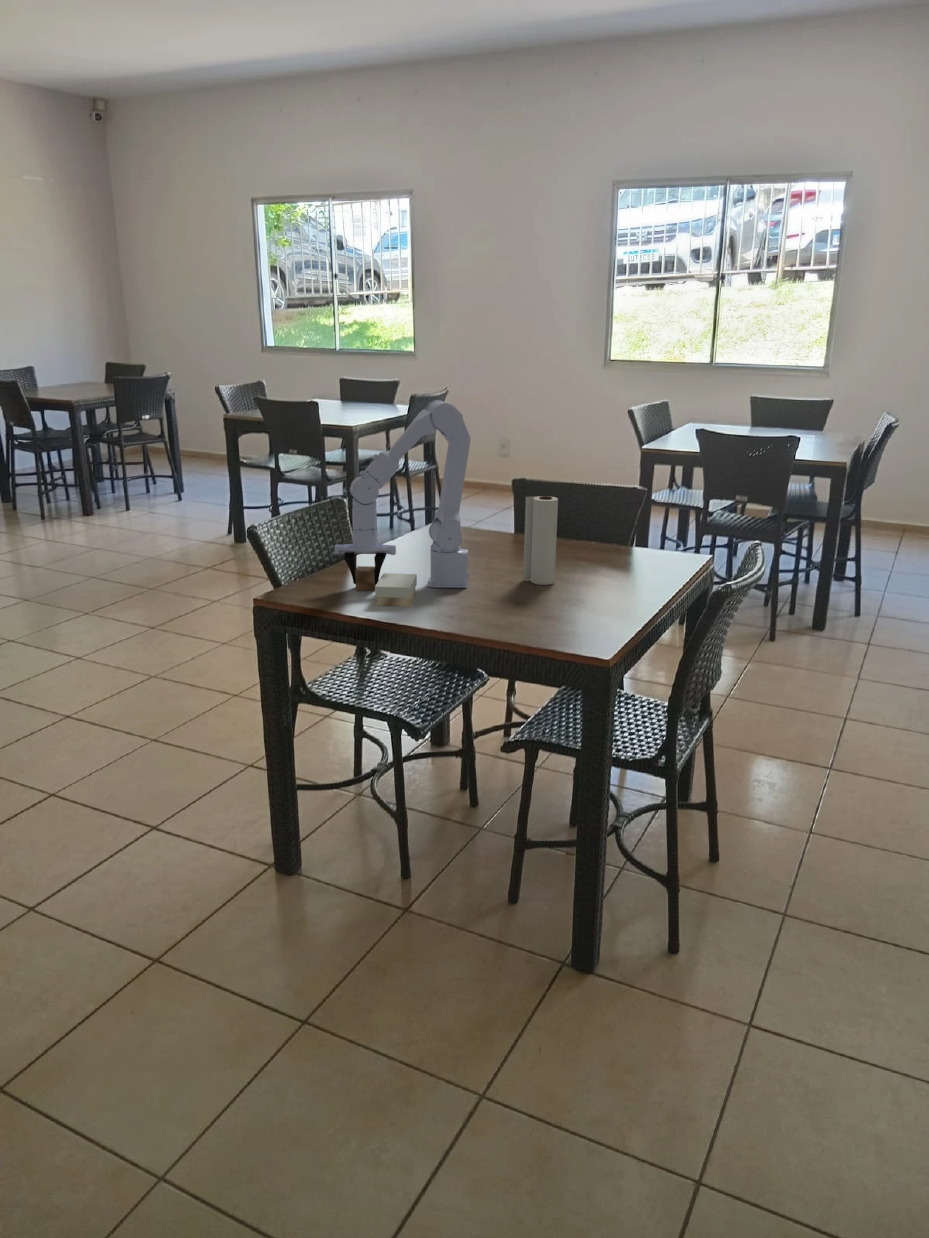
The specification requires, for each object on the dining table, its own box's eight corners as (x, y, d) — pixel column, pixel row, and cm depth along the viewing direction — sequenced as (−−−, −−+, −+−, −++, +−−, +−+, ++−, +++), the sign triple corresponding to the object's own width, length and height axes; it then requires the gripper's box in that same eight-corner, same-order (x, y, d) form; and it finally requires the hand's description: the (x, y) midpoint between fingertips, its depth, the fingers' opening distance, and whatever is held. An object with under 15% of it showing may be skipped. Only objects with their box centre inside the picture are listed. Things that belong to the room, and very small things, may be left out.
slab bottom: (415, 594, 222) (415, 584, 221) (412, 608, 210) (412, 598, 209) (382, 593, 222) (382, 583, 221) (377, 608, 210) (376, 597, 209)
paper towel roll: (559, 583, 229) (563, 498, 223) (539, 586, 226) (542, 500, 220) (542, 576, 235) (545, 493, 229) (523, 580, 232) (525, 495, 226)
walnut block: (376, 586, 226) (376, 566, 224) (374, 591, 221) (374, 571, 220) (358, 586, 226) (357, 566, 224) (355, 591, 221) (355, 571, 220)
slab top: (416, 584, 221) (416, 574, 220) (410, 598, 209) (410, 587, 208) (383, 583, 221) (383, 573, 220) (375, 597, 210) (375, 586, 209)
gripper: (396, 524, 222) (397, 578, 227) (336, 524, 223) (338, 578, 227) (394, 531, 216) (395, 586, 220) (332, 530, 216) (334, 586, 220)
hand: (366, 583), depth 223 cm, fingers closed on walnut block, 4 cm apart
